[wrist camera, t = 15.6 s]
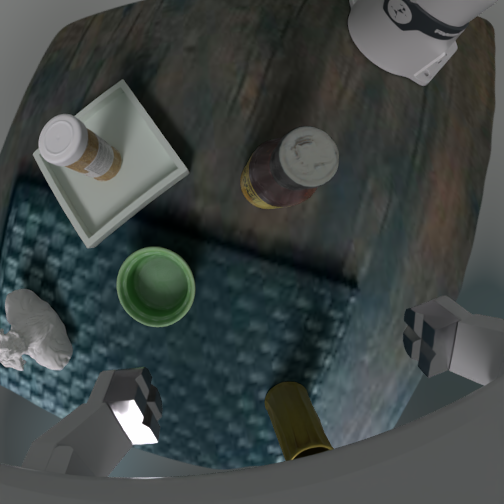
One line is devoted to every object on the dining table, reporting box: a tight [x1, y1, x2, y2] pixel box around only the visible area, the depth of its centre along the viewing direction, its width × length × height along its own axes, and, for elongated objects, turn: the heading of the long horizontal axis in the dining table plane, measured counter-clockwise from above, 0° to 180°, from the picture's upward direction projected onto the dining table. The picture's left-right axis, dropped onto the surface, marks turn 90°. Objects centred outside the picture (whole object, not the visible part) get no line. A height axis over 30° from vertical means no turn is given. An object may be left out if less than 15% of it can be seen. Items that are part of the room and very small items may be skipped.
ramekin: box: [117, 247, 195, 327], centre depth 37 cm, size 9×9×4 cm
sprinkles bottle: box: [39, 114, 122, 181], centre depth 29 cm, size 5×5×14 cm
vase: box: [265, 382, 334, 461], centre depth 35 cm, size 6×6×14 cm
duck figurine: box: [0, 289, 73, 371], centre depth 33 cm, size 12×8×11 cm
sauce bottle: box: [240, 126, 339, 209], centre depth 29 cm, size 7×6×20 cm
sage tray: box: [33, 79, 189, 248], centre depth 36 cm, size 15×15×2 cm
